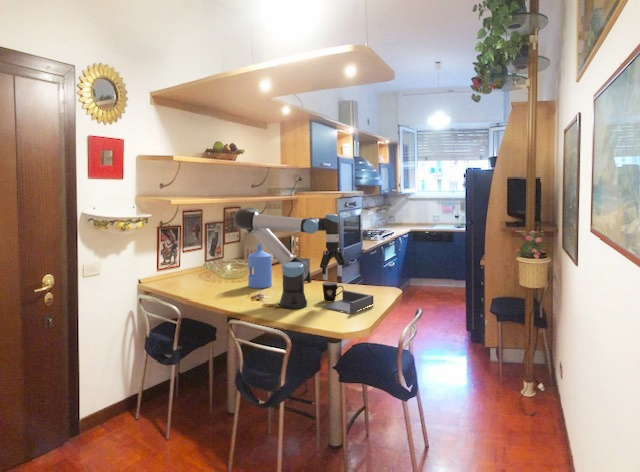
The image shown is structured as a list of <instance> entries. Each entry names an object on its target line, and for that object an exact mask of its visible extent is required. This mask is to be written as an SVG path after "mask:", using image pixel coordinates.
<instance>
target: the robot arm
mask: <svg viewBox="0 0 640 472" xmlns="http://www.w3.org/2000/svg"><path fill="white" fill-rule="evenodd" d="M339 220H340V219H339V215H338V214H336V213H335V214H334V213H328V214H325V216H324V217H306V218H301V217H290V216H283V215H282V216H281V215H280V216H279V215H273V214H272V215H271V214H261V213H260V211H259V210H258V209H256V208H254V207H245V208H242V209H239V210H237V211H236V212H235V213H234V216H233V223H234V224H235V226H236V227H237V228H238V229H240V230H246V231H247V232H248V234H249V235H254V236H255V237H256V238H257V239H258V241H259V242H260V244H262V246H264V248H266V249H267V250H268V253H269V254H270V255H271V256H273V257H274V258H275V260H277V262H278V263H279V264H280V265H281V270H282V293H281V297H280V300H279V307H280V306H281V307H280V308H283V309H288V310H289V309H290V310H296V309H298V310H299V309H303V308H306V307H307V306H308V300H307V299H306V295H305V280H304V279H305V278H306V277H307V276H308V272H309V268H308V265H307V264H306V263H305V262H304V261H302V260H300V259H299V258H300V257H298V255H296V254H292V253H291V252H290V251H289V249H288V248H287V247H286V246H285V245H284V244H283V243H282V241H280V239H278V237H277V236H276V235H275V234H274V233H273V232H272V230H276V231H287V232H297V233H306V234H309V235H310V234H312V235H314V234H315V233H316V232H325V241H326V242H325V248H326V250H323V252H322V253H323V254H322V258H321V261H320V265H319V268H320V269H322V280H324V281H328V266H329V264H330V261H331V260H332V259H333V258H334V260H335V261H336V263H337V266H336V267H337V270H336V271H337V273H336V275H337V277H343V266H344V265H345V258H344V256H343V253H342V248H340V242H339V241H340V236H339V235H340V221H339Z"/></svg>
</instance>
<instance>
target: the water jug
mask: <svg viewBox="0 0 640 472" xmlns="http://www.w3.org/2000/svg"><path fill="white" fill-rule="evenodd" d="M262 246H263V244H262V243H260V244H257V246H256V247H257V249H256V251H254V252H251V254H249V255H248V256H247V266H248V270H249V271H248V276H247V277H248V284H247V285H248V288H250V289H256V290H257V289H259V290H260V289H267V288H271V287H272V285H273V282H272V274H273V270H272V269H273V268H272V262H273V261H272V254H271V253H269V252H265V251H264V250H263V247H262Z"/></svg>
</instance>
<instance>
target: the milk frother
mask: <svg viewBox="0 0 640 472" xmlns="http://www.w3.org/2000/svg"><path fill="white" fill-rule="evenodd" d="M298 258H299V259H300V260H302V261H304V262H305V263H306V264H307V265H308V268H309V272H308V276H307V277H306V278H305V279H304V281H307V282H311V281H312V278H311V258H309V257H298Z"/></svg>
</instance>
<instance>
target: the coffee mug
mask: <svg viewBox="0 0 640 472" xmlns="http://www.w3.org/2000/svg"><path fill="white" fill-rule="evenodd" d="M321 284H322V292H323V300H325V302H326V301H333V302H335V301H336V297H337V296H338V295H340V294H341V293H343V290H344V286H342V285H338V283H337V282H335V281H334V282H333V281H325V282H324V281H323V282H322V283H321ZM340 287H341V288H342V290H340V292H338V293H337V290H338V288H340ZM334 300H335V301H334Z"/></svg>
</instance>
